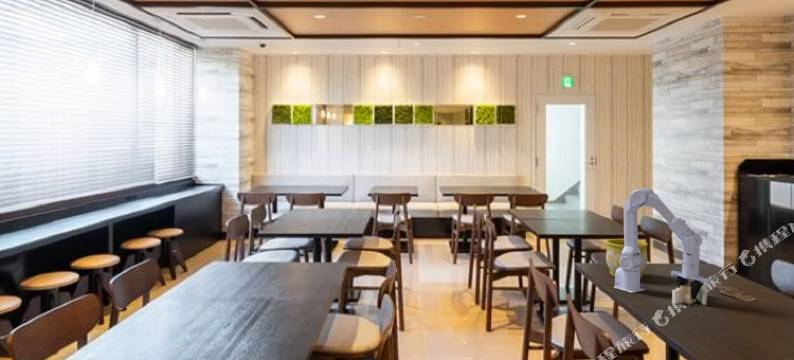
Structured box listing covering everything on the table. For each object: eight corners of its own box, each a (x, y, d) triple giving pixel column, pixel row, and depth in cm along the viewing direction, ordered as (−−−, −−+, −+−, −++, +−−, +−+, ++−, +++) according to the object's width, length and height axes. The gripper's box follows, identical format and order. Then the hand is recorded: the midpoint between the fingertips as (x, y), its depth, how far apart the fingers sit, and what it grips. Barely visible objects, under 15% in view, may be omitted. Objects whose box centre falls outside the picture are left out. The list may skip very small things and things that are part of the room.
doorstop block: (679, 300, 202) (680, 285, 201) (686, 298, 204) (686, 284, 203) (689, 303, 198) (689, 288, 198) (695, 301, 200) (696, 286, 200)
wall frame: (671, 303, 198) (671, 288, 198) (702, 295, 208) (703, 281, 208) (675, 304, 197) (676, 290, 196) (707, 296, 207) (708, 282, 206)
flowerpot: (605, 279, 235) (605, 244, 234) (605, 270, 251) (606, 237, 250) (648, 282, 228) (649, 246, 227) (645, 273, 245) (646, 239, 244)
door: (703, 304, 195) (703, 292, 194) (695, 297, 204) (695, 285, 204) (707, 305, 194) (708, 292, 194) (700, 297, 204) (700, 285, 203)
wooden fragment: (763, 303, 197) (763, 300, 197) (731, 302, 199) (732, 299, 199) (732, 285, 223) (732, 283, 223) (704, 285, 225) (704, 282, 225)
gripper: (666, 261, 204) (665, 293, 205) (703, 269, 191) (701, 304, 192) (677, 259, 207) (675, 291, 209) (713, 267, 195) (711, 301, 196)
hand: (688, 297), depth 201 cm, fingers closed on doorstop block, 4 cm apart
